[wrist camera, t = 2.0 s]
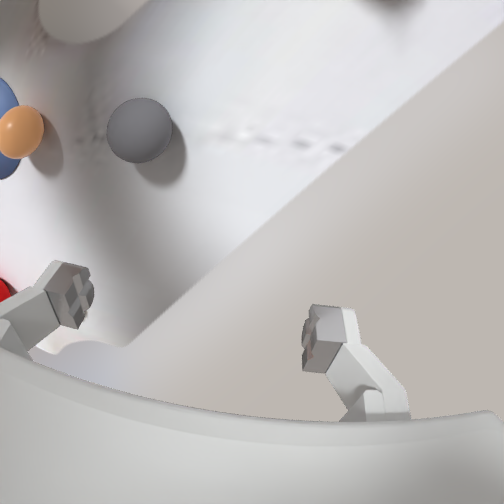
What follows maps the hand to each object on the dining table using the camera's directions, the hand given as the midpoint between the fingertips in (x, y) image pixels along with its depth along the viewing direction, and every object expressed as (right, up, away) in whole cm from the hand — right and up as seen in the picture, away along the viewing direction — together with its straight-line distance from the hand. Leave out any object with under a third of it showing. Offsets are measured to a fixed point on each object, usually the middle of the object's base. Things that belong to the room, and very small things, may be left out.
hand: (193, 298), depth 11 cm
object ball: (-21, +13, +12) cm, 28 cm away
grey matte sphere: (-7, +12, +13) cm, 19 cm away
